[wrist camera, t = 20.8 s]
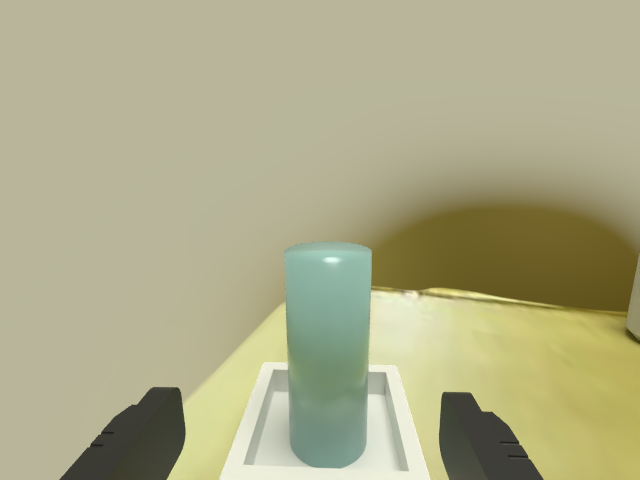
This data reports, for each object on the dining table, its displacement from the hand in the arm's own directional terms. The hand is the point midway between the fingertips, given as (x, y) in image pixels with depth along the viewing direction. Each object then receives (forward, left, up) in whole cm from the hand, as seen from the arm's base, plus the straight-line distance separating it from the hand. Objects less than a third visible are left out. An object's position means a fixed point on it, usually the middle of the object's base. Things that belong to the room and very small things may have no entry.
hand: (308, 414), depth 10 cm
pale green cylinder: (0, -11, -11) cm, 15 cm away
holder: (0, -11, -11) cm, 16 cm away
